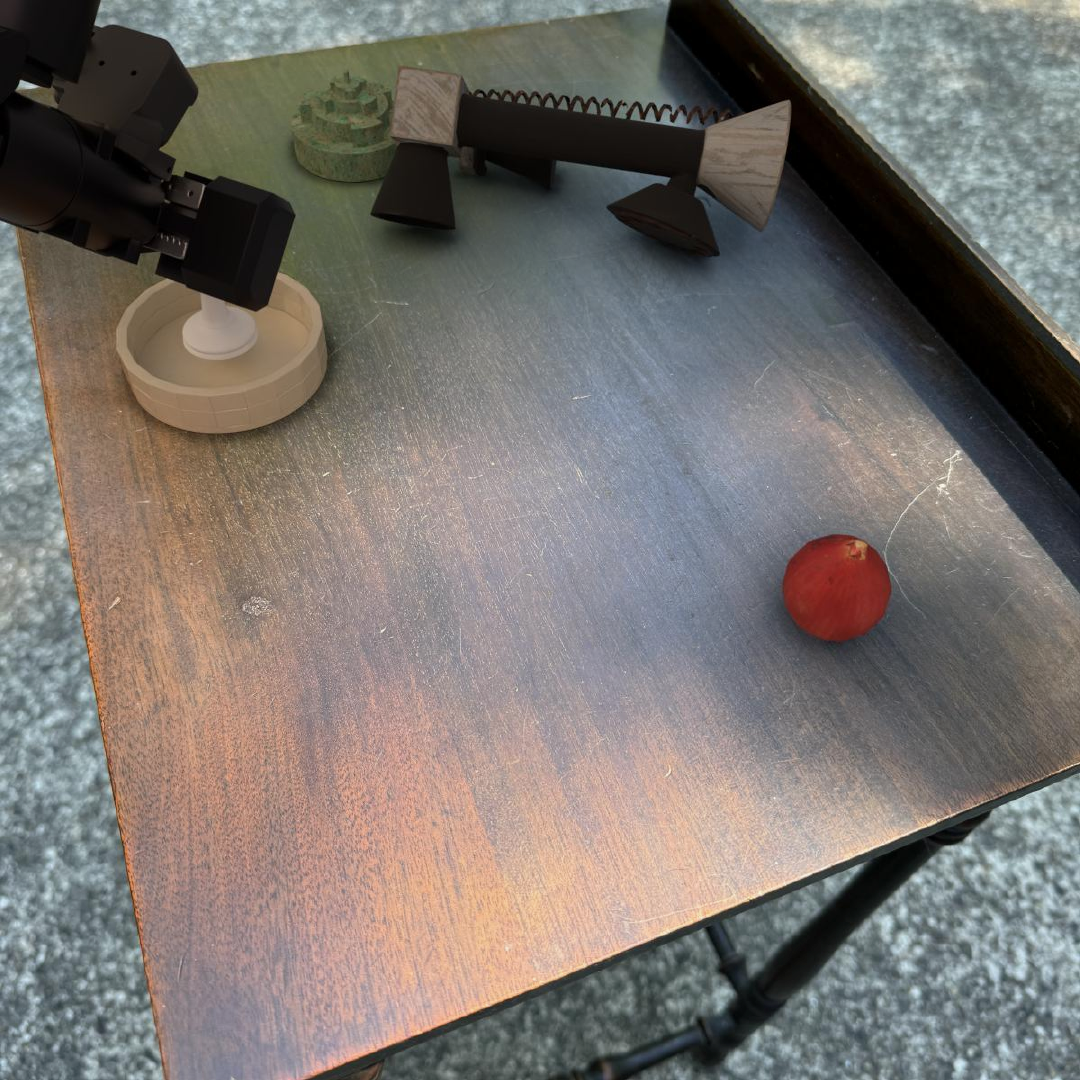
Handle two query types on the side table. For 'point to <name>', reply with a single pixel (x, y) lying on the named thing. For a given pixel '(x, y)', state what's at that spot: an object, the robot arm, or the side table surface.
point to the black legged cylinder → (581, 155)
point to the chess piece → (219, 331)
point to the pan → (222, 385)
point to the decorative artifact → (345, 130)
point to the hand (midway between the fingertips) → (214, 243)
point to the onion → (836, 587)
